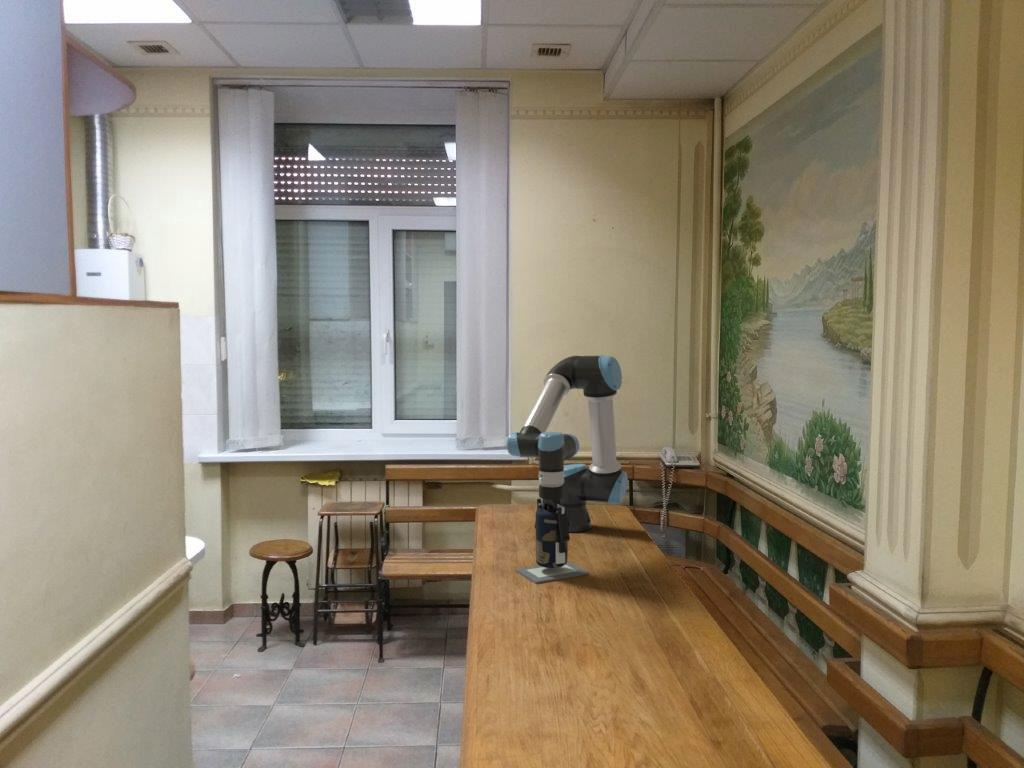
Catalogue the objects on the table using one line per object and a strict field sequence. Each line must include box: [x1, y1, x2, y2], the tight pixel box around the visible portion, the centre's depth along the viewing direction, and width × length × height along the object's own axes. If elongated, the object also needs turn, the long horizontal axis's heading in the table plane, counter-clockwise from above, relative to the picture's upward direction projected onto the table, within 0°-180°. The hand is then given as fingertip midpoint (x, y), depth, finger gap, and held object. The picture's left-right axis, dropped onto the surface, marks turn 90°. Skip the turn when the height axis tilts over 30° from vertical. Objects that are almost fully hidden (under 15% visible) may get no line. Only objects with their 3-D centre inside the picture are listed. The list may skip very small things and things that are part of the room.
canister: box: [535, 508, 569, 568], centre depth 216 cm, size 10×10×18 cm
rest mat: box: [514, 560, 590, 585], centre depth 217 cm, size 18×13×1 cm
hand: (551, 558), depth 216 cm, fingers closed on canister, 9 cm apart
